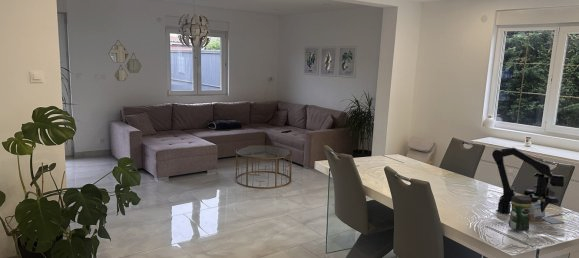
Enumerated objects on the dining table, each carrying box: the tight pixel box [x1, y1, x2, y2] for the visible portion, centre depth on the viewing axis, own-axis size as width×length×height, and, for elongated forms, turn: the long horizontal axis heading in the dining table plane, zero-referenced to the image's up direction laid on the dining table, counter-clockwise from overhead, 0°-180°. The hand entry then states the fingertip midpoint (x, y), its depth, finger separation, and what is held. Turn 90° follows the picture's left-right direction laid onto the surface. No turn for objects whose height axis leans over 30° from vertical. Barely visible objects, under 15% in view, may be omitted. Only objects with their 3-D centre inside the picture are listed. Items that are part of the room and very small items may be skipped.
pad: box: [542, 217, 565, 225], centre depth 240 cm, size 9×8×1 cm
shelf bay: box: [529, 213, 544, 223], centre depth 243 cm, size 10×8×4 cm
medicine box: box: [529, 200, 546, 219], centre depth 243 cm, size 8×4×9 cm, turn 106°
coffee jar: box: [508, 194, 532, 232], centre depth 224 cm, size 10×8×19 cm
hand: (538, 210), depth 244 cm, fingers closed on medicine box, 4 cm apart
